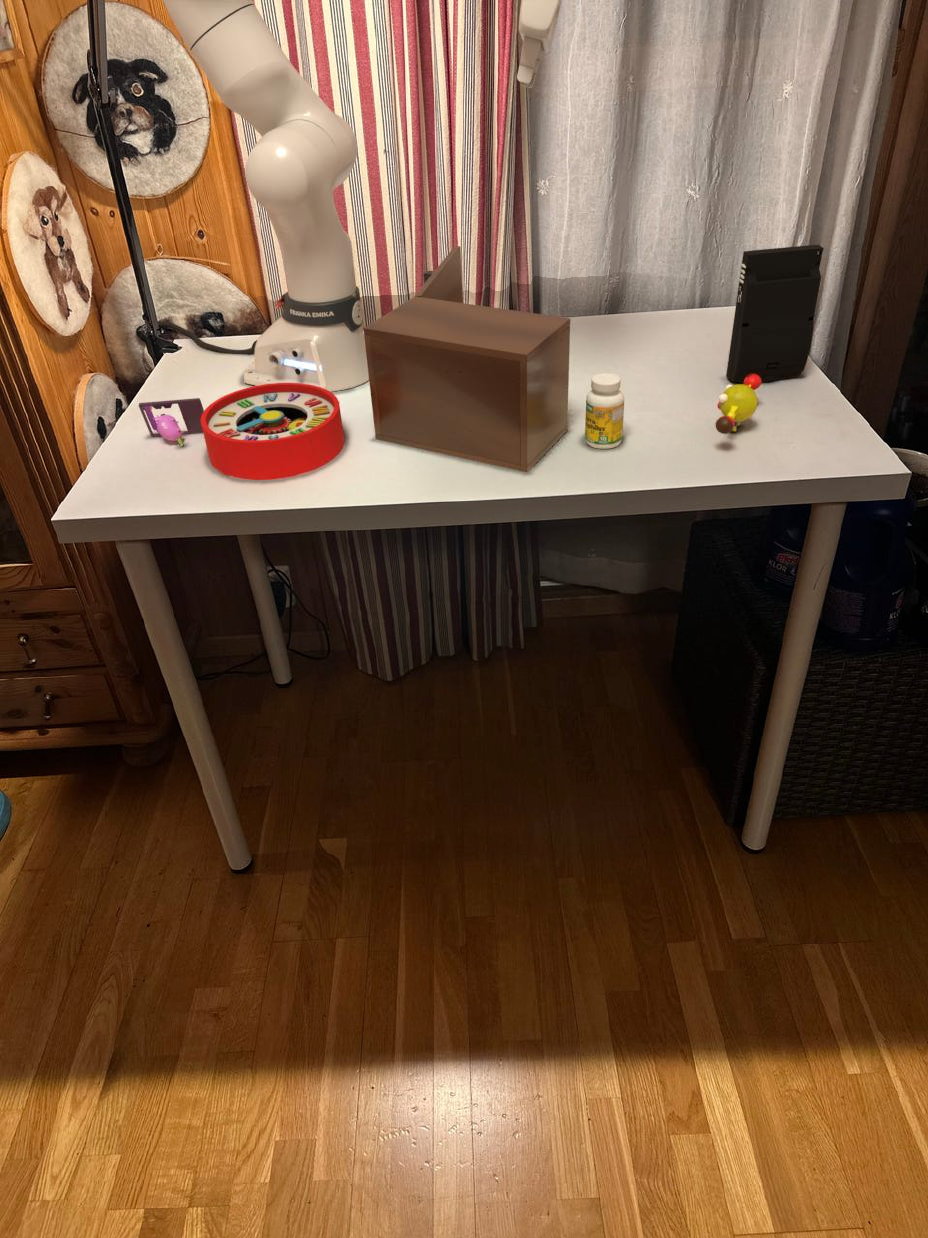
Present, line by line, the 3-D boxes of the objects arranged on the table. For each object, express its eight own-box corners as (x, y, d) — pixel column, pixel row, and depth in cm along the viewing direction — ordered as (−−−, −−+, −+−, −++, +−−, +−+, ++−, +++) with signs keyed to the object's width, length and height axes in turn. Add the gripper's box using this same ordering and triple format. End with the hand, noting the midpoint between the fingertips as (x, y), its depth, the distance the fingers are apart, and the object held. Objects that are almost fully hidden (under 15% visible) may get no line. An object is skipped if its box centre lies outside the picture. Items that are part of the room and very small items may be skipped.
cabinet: (423, 402, 147) (415, 296, 137) (567, 431, 137) (570, 318, 127) (375, 439, 138) (363, 328, 127) (527, 473, 128) (526, 354, 117)
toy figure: (730, 401, 143) (736, 359, 139) (767, 407, 141) (774, 364, 136) (697, 452, 130) (703, 407, 126) (736, 459, 128) (743, 414, 124)
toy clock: (367, 408, 133) (247, 457, 122) (371, 445, 136) (255, 495, 126) (289, 371, 145) (175, 412, 135) (295, 406, 148) (184, 448, 138)
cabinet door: (390, 397, 149) (380, 294, 139) (431, 340, 168) (424, 245, 158) (428, 400, 148) (420, 295, 137) (464, 341, 167) (460, 245, 156)
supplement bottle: (629, 440, 134) (633, 378, 128) (605, 453, 131) (608, 390, 125) (600, 429, 137) (604, 367, 131) (576, 441, 134) (578, 379, 129)
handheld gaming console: (794, 369, 151) (817, 243, 139) (806, 381, 147) (831, 251, 135) (723, 377, 150) (740, 250, 138) (733, 388, 146) (752, 259, 134)
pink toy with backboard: (199, 394, 137) (138, 399, 137) (198, 419, 135) (135, 424, 134) (210, 426, 143) (152, 431, 142) (209, 451, 140) (149, 456, 140)
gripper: (532, -35, 122) (505, 82, 129) (526, -66, 104) (496, 72, 111) (578, -22, 122) (549, 94, 129) (580, -51, 104) (546, 86, 111)
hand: (524, 84), depth 120 cm, fingers open, 8 cm apart
